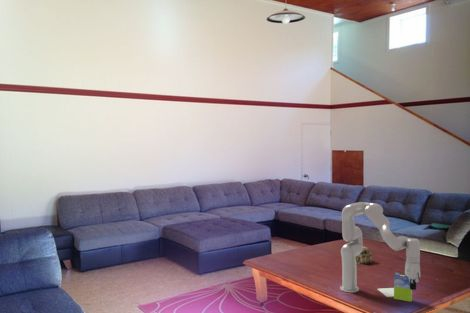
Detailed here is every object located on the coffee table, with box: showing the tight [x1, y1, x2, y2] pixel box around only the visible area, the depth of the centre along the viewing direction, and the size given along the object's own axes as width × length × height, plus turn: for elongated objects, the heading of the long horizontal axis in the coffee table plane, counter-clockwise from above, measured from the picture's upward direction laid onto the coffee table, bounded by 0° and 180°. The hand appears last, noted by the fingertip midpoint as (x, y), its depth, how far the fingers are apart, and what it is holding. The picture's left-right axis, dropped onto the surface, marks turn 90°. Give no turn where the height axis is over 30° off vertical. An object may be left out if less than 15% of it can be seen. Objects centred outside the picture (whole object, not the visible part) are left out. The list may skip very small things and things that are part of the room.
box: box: [393, 272, 413, 303], centre depth 251 cm, size 10×4×17 cm, turn 60°
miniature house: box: [355, 246, 373, 265], centre depth 333 cm, size 15×14×11 cm
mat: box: [377, 287, 394, 298], centre depth 264 cm, size 14×16×1 cm
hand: (412, 289), depth 239 cm, fingers closed
